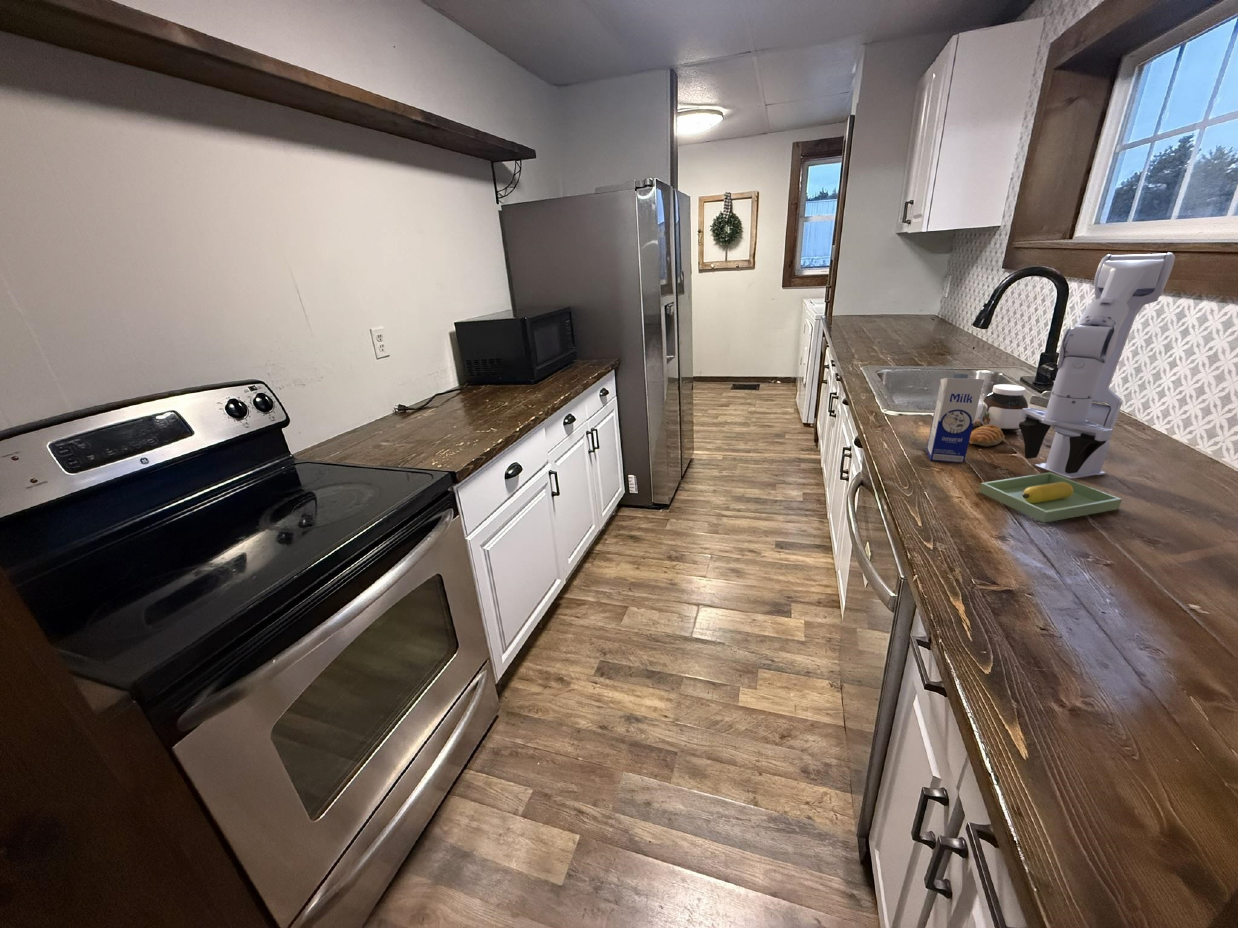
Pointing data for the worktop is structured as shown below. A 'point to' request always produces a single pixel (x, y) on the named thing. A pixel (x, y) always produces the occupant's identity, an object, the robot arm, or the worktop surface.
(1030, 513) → the tray
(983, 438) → the pastry
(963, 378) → the milk carton
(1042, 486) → the banana
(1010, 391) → the spread jar
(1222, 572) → the worktop surface
